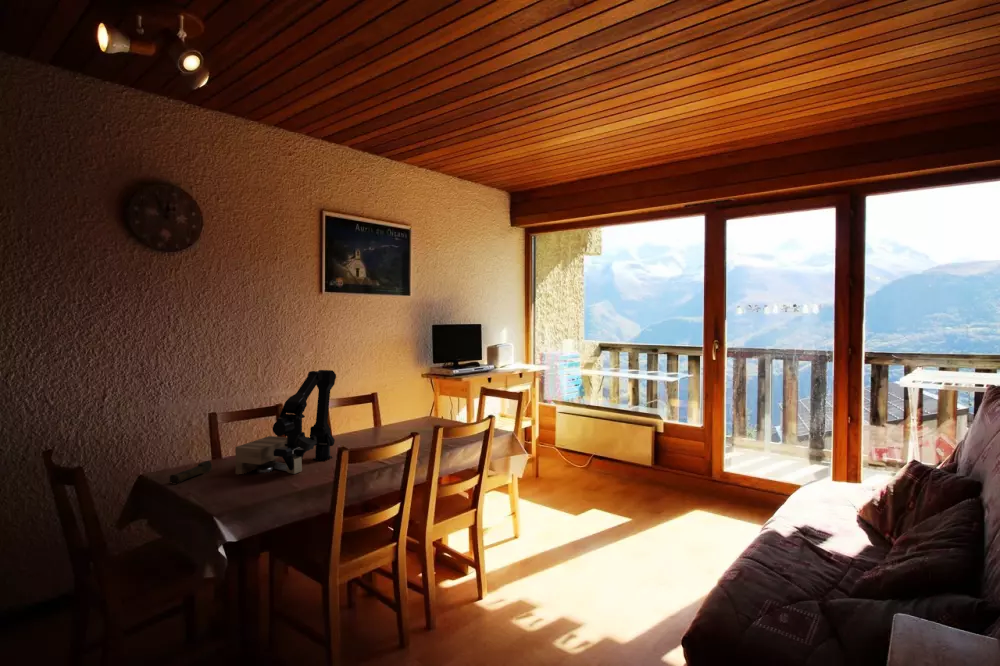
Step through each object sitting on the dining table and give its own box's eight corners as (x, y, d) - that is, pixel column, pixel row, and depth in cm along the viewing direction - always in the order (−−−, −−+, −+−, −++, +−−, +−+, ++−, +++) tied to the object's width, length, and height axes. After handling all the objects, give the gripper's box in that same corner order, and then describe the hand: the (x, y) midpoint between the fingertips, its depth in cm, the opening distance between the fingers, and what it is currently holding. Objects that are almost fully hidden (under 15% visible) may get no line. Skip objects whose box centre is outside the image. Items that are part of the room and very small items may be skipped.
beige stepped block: (269, 460, 236) (269, 435, 235) (293, 463, 232) (293, 438, 232) (235, 474, 216) (235, 447, 216) (260, 477, 213) (260, 449, 213)
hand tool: (177, 485, 202) (177, 473, 202) (168, 484, 204) (168, 472, 203) (217, 471, 221) (217, 460, 220) (209, 470, 222) (209, 459, 222)
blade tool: (268, 464, 228) (267, 450, 228) (302, 470, 220) (301, 456, 220) (260, 467, 225) (260, 453, 224) (294, 474, 217) (293, 459, 216)
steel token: (263, 468, 225) (263, 464, 225) (276, 469, 223) (276, 466, 223) (253, 472, 219) (253, 469, 219) (266, 474, 218) (266, 470, 218)
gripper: (297, 437, 207) (297, 477, 208) (325, 427, 225) (325, 464, 226) (272, 434, 210) (272, 474, 211) (302, 425, 228) (302, 461, 229)
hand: (294, 468), depth 219 cm, fingers closed on blade tool, 4 cm apart
